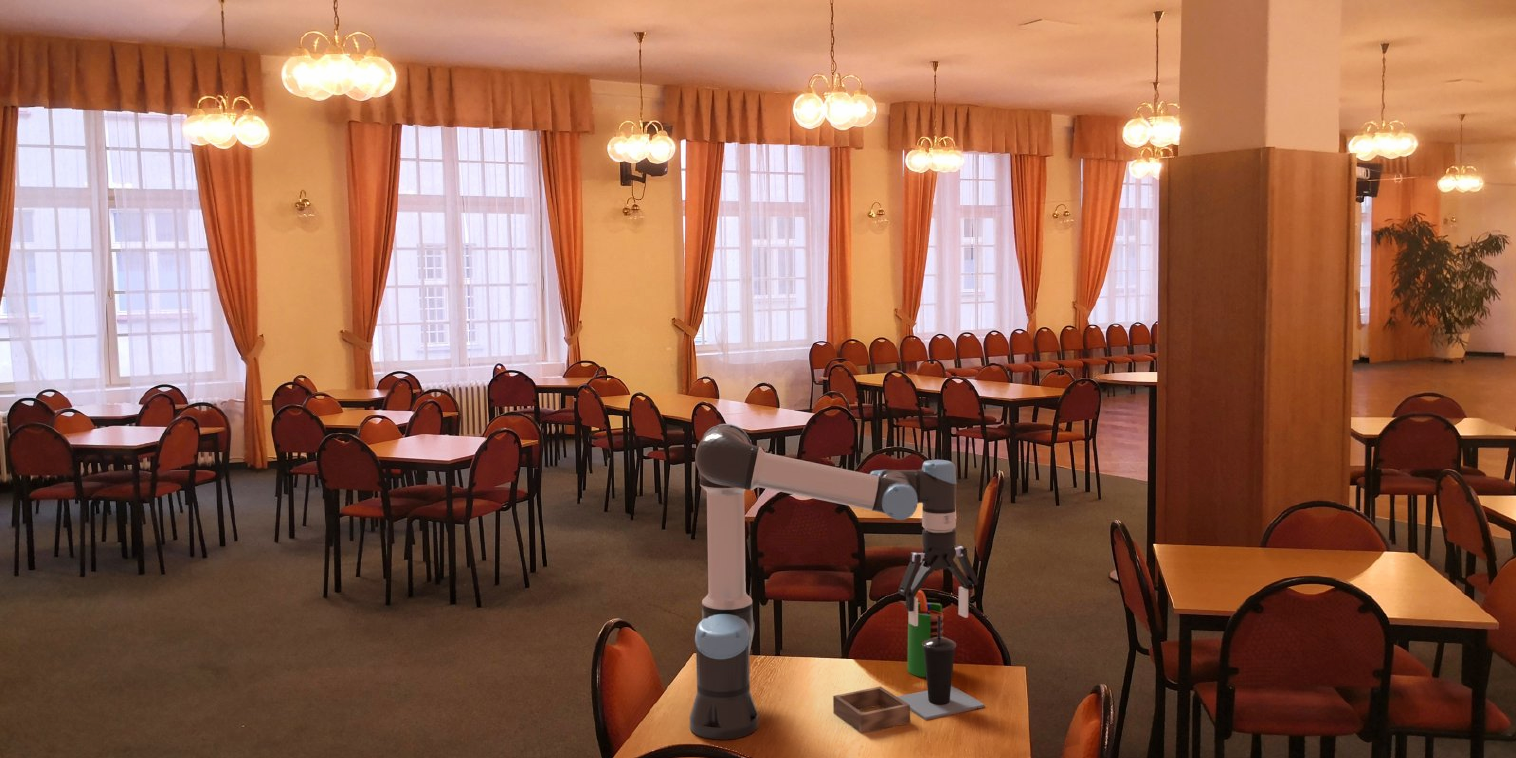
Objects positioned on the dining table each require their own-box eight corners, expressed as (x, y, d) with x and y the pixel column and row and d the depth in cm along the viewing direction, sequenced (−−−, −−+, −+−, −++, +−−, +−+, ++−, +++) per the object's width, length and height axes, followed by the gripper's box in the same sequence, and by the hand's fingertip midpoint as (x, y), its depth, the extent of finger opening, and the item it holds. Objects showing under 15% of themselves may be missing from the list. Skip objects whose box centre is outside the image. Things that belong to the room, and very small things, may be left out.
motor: (943, 678, 272) (943, 598, 270) (906, 676, 273) (905, 597, 271) (944, 664, 282) (944, 586, 280) (908, 662, 283) (908, 585, 281)
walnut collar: (861, 733, 241) (861, 715, 240) (833, 713, 252) (833, 695, 252) (910, 722, 246) (910, 705, 246) (880, 703, 257) (880, 686, 257)
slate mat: (925, 720, 247) (925, 717, 247) (894, 699, 259) (894, 697, 259) (984, 706, 254) (984, 704, 254) (951, 687, 266) (951, 685, 266)
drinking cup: (919, 705, 254) (919, 619, 252) (925, 693, 261) (925, 609, 259) (953, 708, 252) (953, 622, 250) (957, 696, 259) (958, 612, 257)
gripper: (901, 538, 244) (900, 633, 246) (994, 526, 254) (993, 616, 256) (883, 531, 251) (882, 623, 253) (974, 519, 261) (973, 608, 263)
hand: (938, 620), depth 255 cm, fingers open, 13 cm apart
